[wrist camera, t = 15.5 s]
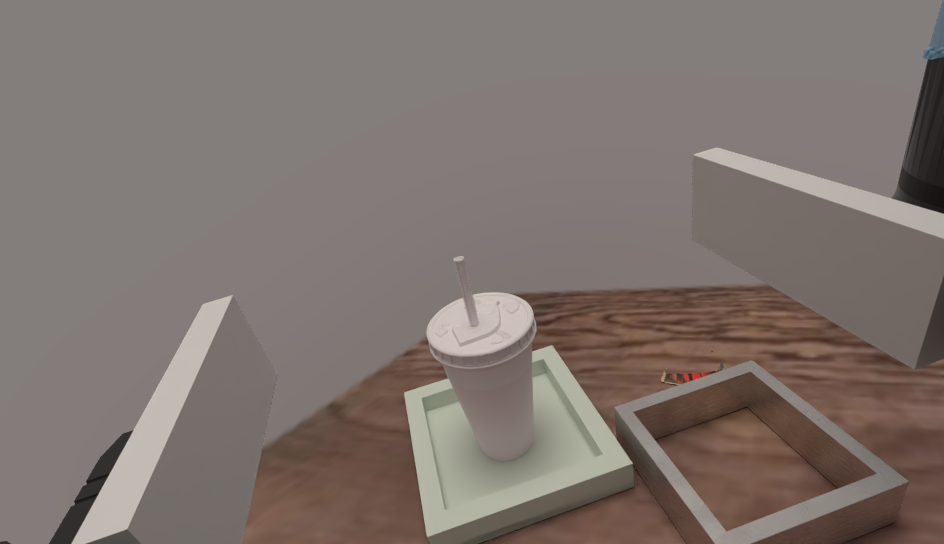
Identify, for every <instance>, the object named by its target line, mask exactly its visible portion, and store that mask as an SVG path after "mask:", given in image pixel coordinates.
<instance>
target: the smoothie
mask: <svg viewBox="0 0 944 544" xmlns="http://www.w3.org/2000/svg"><path fill="white" fill-rule="evenodd" d="M454 263H455V267H456V271H457V275H458V279H459V283H460V287H461V292H462V296H463V298H461V299H459V300H456V301H454V302H452V303H450V304H448V305H447V306H445V307H444V308H442V309H441V310H440V311H439V312H438V313H437V314H436V315H435V316H434V317H433V318H432V319H431V321H430V323H429V325H428V327H427V339H428V342H429V347H430V352H431V353H432V355H433V356H434V357H435V359H436V360H438V361H439V362H441V363H442V365H443V368H444V370H445V372H446V375H447V376H448V378H449V380H450V383H451V385H452V387H453V389H454V391H455V393H456V396H457V398H458V400H459V402H460V404H461V406H462V409H463V411H464V413H465V415H466V417H467V419H468V422H469V424H470V426H471V428H472V430H473V432H474V435H475V437H476V439H477V441H478V443H479V445H480V448H481V450H482V451H483V453H484V454H485V455H486V456H488V457H489V458H491V459H493V460H497V461H511V460H514V459H517V458H519V457H521V456H523V455H524V454H525V453H527V451H528V450H529V449H530V448H531V446H532V444H533V441H534V419H533V378H532V341H533V339H534V336H535V334H536V331H537V330H536V321H535V320H534V315H533V311H532V308H531V306H530V305H529V304H528V303H527V302H526V301H525V300H523V299H521V298H519V297H517V296H514V295H511V294H507V293H497V292H495V293H494V292H490V293H480V294H475V295H473V294H472V290H471V286H470V282H469V278H468V273H467V268H466V264H465V260H464V257H462V256H459V257H456V258H454Z"/></svg>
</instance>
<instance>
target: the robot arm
mask: <svg viewBox="0 0 944 544" xmlns="http://www.w3.org/2000/svg"><path fill="white" fill-rule="evenodd" d="M923 58H924V59H928V61H927V65H926V69H925V73H924V77H923V82H922V86H921V90H920V94H919V98H918V102H917V107H916V110H915V114H914V119H913V123H912V127H911V131H910V135H909V139H908V143H907V148H906V151H905V155H904V160H903V164H902V169H901V173H900V178H899V182H898V185H897V189H896V192H895V194H894V195H893V197H892V198H888V197H884V196H881V195H878V194H874V193H870V192H867V191H864V190H860V189H857V188H854V187H850V186H846V185H843V184H840V183H837V182H833V181H830V180H826V179H823V178H819V177H816V176H813V175H809V174H806V173H802V172H799V171H795V170H792V169H789V168H785V167H782V166H778V165H775V164H771V163H768V162H765V161H761V160H758V159H754V158H751V157H748V156H744V155H740V154H737V153H734V152H731V151H727V150H724V149H720V148H713V149H710V150H707V151H704V152H701V153H697V154H694V155H693V194H692V196H693V198H692V200H693V201H692V206H693V207H692V240H693V241H695V242H696V243H698V244H700V245H702V246H703V247H705V248H707V249H708V250H710V251H712V252H713V253H715V254H717V255H719V256H720V257H722V258H724V259H725V260H727V261H729V262H731V263H732V264H734V265H736V266H738V267H739V268H741V269H743V270H744V271H746V272H748V273H750V274H751V275H753V276H755V277H756V278H758V279H760V280H762V281H763V282H765V283H767V284H768V285H770V286H772V287H774V288H775V289H777V290H779V291H780V292H782V293H784V294H786V295H787V296H789V297H791V298H792V299H794V300H796V301H798V302H799V303H801V304H803V305H804V306H806V307H808V308H810V309H811V310H813V311H815V312H816V313H818V314H820V315H822V316H823V317H825V318H827V319H828V320H830V321H832V322H834V323H835V324H837V325H839V326H840V327H842V328H844V329H846V330H847V331H849V332H851V333H852V334H854V335H856V336H858V337H859V338H861V339H863V340H864V341H866V342H868V343H870V344H871V345H873V346H875V347H876V348H878V349H880V350H882V351H883V352H885V353H887V354H888V355H890V356H892V357H894V358H895V359H897V360H899V361H900V362H902V363H904V364H906V365H907V366H909V367H911V368H912V369H914V370H915V369H918V368H921V367H923V366H926V365H929V364H931V363H934V362H937V361H939V360H942V359H944V0H943V1H942V5H941V8H940V11H939V15H938V18H937V22H936V25H935V28H934V32H933V35H932V39H931V42H930V44H929V45H928V46H927V47H926V48H925V50H924V56H923ZM276 380H277V373H276V371H275V369H274V368H273V366H272V364H271V362H270V360H269V359H268V357H267V355H266V353H265V351H264V350H263V348H262V346H261V344H260V343H259V341H258V339H257V337H256V335H255V334H254V332H253V330H252V328H251V326H250V325H249V323H248V321H247V319H246V317H245V316H244V314H243V312H242V310H241V308H240V307H239V305H238V303H237V301H236V299H235V298H234V296H233V295H231V296H228V297H225V298H222V299H218V300H215V301H212V302H208V303H205V304H203V305H202V307H201V309H200V311H199V312H198V314H197V316H196V318H195V320H194V322H193V324H192V325H191V327H190V329H189V331H188V333H187V334H186V336H185V338H184V340H183V342H182V343H181V345H180V347H179V349H178V351H177V353H176V354H175V356H174V358H173V360H172V362H171V363H170V365H169V367H168V369H167V371H166V372H165V374H164V376H163V378H162V380H161V382H160V383H159V385H158V387H157V389H156V391H155V392H154V394H153V396H152V398H151V400H150V402H149V403H148V405H147V407H146V409H145V411H144V412H143V414H142V416H141V418H140V420H139V422H138V424H137V425H136V427H135V429H134V430H133V431H130V432H127V433H124V434H122V435H121V436H120V437H119V438H118V439H117V440H116V442H115V443H114V444H113V445H112V446H111V447H110V448H109V449H108V450H107V451H106V452H105V453H104V454H103V455H102V456H101V457H100V459H99V460H98V462H97V464H96V465H95V467H94V469H93V471H92V473H91V474H90V476H89V477H88V479H87V481H86V482H87V485H85V486H83V487H82V489H81V491H80V492H79V494H78V496H77V497H76V499H75V501H74V502H75V505H74V506H72V507H71V508H70V509H69V511H68V513H67V514H66V516H65V518H64V519H63V521H62V523H61V524H60V526H59V528H58V529H57V531H56V533H55V535H54V537H53V538H52V540H51V541H50V543H49V544H242V541H243V536H244V531H245V527H246V522H247V517H248V513H249V508H250V503H251V498H252V494H253V489H254V484H255V479H256V475H257V470H258V465H259V460H260V456H261V451H262V446H263V442H264V437H265V431H266V427H267V422H268V418H269V413H270V408H271V404H272V399H273V394H274V389H275V385H276ZM0 544H10V543H9V542H7V541H3V542H0Z"/></svg>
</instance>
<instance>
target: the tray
mask: <svg viewBox="0 0 944 544" xmlns="http://www.w3.org/2000/svg"><path fill="white" fill-rule="evenodd" d="M532 378H533V419H534V441H533V444H532V446H531V448H530V449H529V450H528V451H527V453H525V454H524V455H523V456H521V457H519V458H517V459H514V460H511V461H497V460H493V459H491V458H489V457H488V456H486V455H485V454H484V453H483V451H482V450H481V448H480V445H479V443H478V441H477V439H476V437H475V435H474V432H473V430H472V428H471V426H470V424H469V422H468V419H467V417H466V415H465V413H464V411H463V409H462V406H461V404H460V402H459V400H458V398H457V396H456V393H455V391H454V389H453V387H452V385H451V383H450V380H449V378H448V379H445V380H442V381H439V382H436V383H433V384H429V385H426V386H423V387H420V388H417V389H414V390H411V391H408V392H404V395H405V401H406V407H407V414H408V420H409V426H410V433H411V439H412V445H413V452H414V458H415V464H416V470H417V477H418V483H419V489H420V496H421V502H422V508H423V515H424V521H425V527H426V534H427V538H428V541H429V543H430V544H479V543H481V542H484V541H487V540H489V539H492V538H495V537H498V536H500V535H503V534H506V533H509V532H511V531H514V530H517V529H520V528H522V527H525V526H528V525H531V524H533V523H536V522H539V521H542V520H544V519H547V518H550V517H553V516H555V515H558V514H561V513H564V512H566V511H569V510H572V509H575V508H577V507H580V506H583V505H586V504H588V503H591V502H594V501H597V500H599V499H602V498H605V497H608V496H610V495H613V494H616V493H619V492H621V491H624V490H627V489H630V488H632V487H634V474H633V463H632V461H631V460H630V459H629V457H628V456H627V454H626V453H625V451H624V450H623V448H622V447H621V445H620V444H619V442H618V441H617V440H616V438H615V437H614V435H613V434H612V432H611V431H610V429H609V428H608V426H607V425H606V423H605V422H604V421H603V419H602V418H601V416H600V415H599V413H598V412H597V410H596V409H595V407H594V406H593V404H592V403H591V402H590V400H589V399H588V397H587V396H586V394H585V393H584V391H583V390H582V388H581V387H580V385H579V384H578V383H577V381H576V380H575V378H574V377H573V375H572V374H571V372H570V371H569V369H568V368H567V366H566V365H565V364H564V362H563V361H562V359H561V358H560V356H559V355H558V353H557V352H556V350H555V349H554V347H553V346H548V347H545V348H542V349H539V350H536V351H533V352H532Z"/></svg>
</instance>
